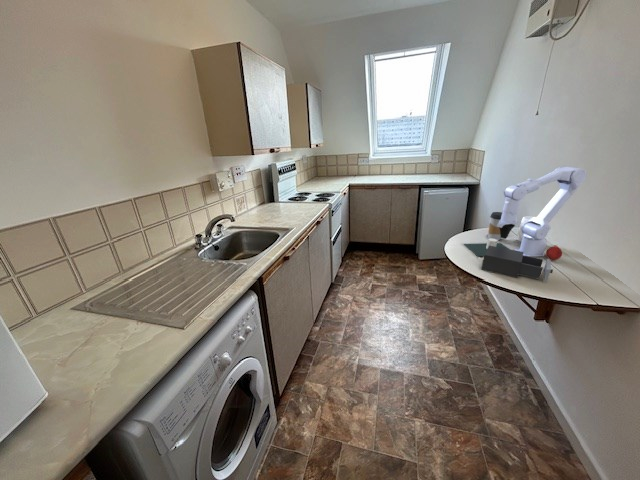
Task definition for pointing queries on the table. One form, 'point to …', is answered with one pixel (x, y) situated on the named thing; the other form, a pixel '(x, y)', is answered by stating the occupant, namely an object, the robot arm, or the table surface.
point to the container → (491, 242)
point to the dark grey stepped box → (502, 261)
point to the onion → (554, 253)
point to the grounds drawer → (535, 268)
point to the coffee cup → (494, 226)
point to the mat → (481, 248)
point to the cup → (524, 220)
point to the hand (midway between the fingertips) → (503, 237)
